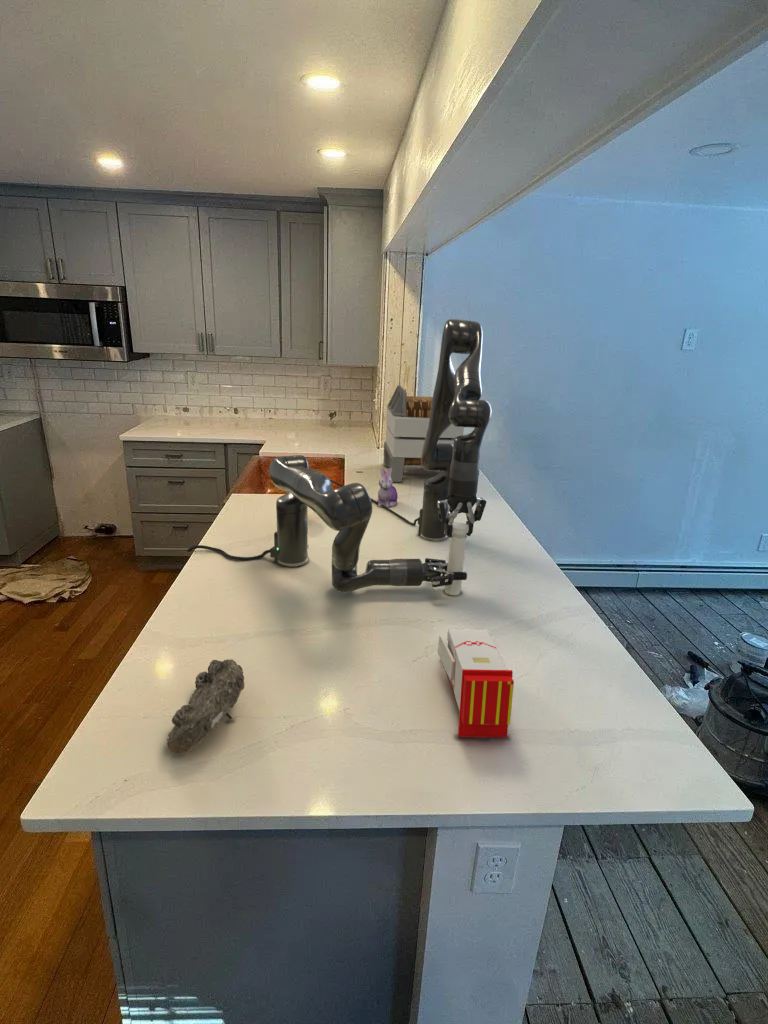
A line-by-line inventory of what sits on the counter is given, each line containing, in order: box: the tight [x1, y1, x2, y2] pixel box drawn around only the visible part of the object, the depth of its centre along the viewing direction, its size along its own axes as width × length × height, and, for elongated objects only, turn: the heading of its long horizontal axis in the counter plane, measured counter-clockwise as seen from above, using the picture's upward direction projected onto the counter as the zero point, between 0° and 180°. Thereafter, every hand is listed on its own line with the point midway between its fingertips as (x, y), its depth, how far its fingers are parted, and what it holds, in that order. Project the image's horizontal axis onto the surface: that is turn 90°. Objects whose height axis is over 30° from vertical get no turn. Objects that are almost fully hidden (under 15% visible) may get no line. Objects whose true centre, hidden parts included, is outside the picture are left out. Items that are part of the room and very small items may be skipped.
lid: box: [452, 521, 469, 534], centre depth 154 cm, size 5×5×2 cm
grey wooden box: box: [383, 384, 465, 483], centre depth 268 cm, size 34×33×41 cm
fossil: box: [166, 658, 245, 754], centre depth 106 cm, size 22×10×15 cm
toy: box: [437, 628, 515, 738], centre depth 117 cm, size 12×13×30 cm
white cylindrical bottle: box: [444, 533, 468, 596], centre depth 157 cm, size 4×4×19 cm
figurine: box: [377, 467, 399, 508], centre depth 227 cm, size 9×10×15 cm
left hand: (464, 571), depth 159 cm, fingers closed on white cylindrical bottle, 4 cm apart
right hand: (458, 535), depth 155 cm, fingers closed on lid, 5 cm apart
